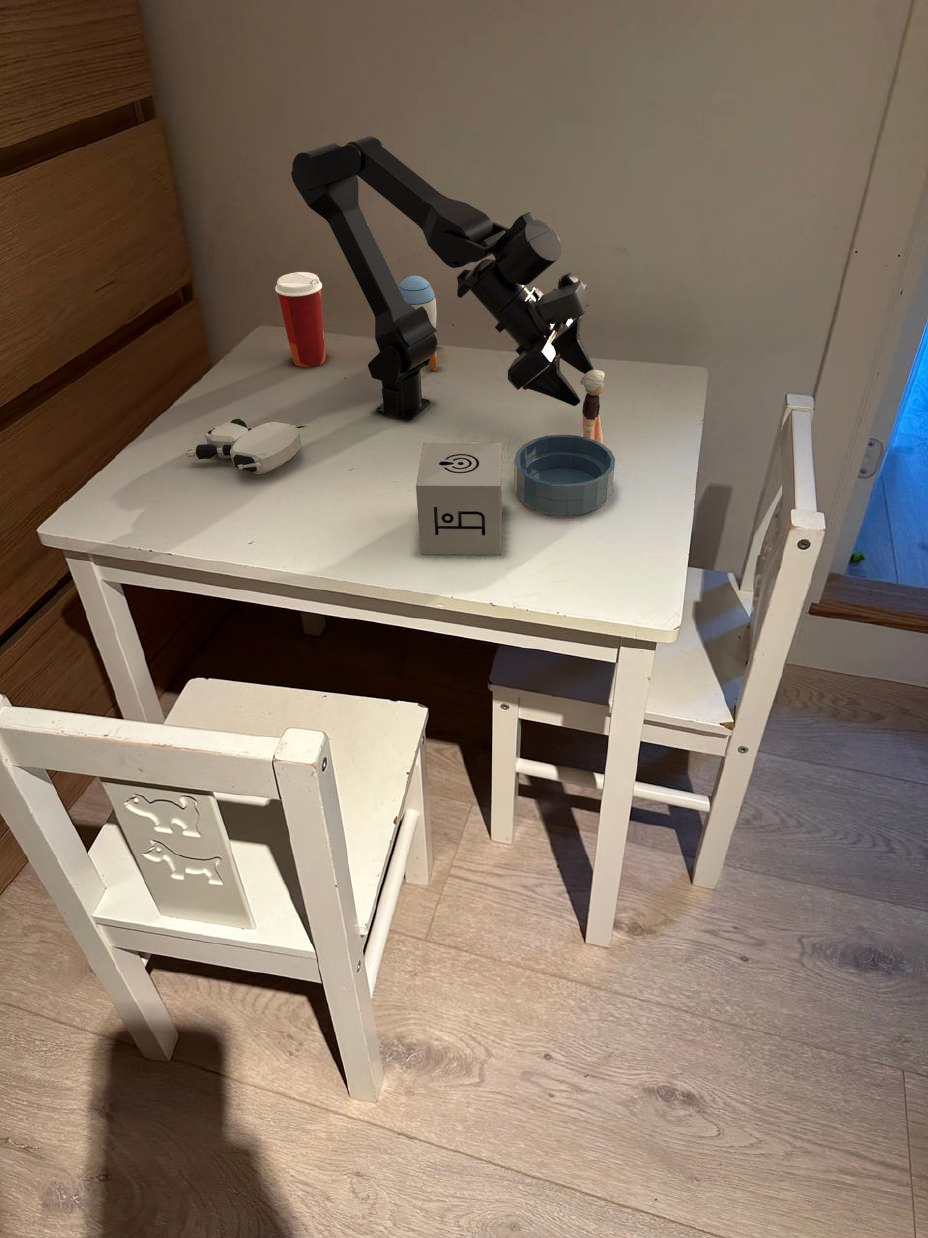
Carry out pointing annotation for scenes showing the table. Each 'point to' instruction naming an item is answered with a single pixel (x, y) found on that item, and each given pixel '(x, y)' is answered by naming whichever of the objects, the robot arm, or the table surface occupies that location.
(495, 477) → the icon cube
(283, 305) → the paper cup
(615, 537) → the table surface
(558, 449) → the blue pet bowl
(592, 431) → the grandmother figurine
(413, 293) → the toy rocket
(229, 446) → the robot toy
